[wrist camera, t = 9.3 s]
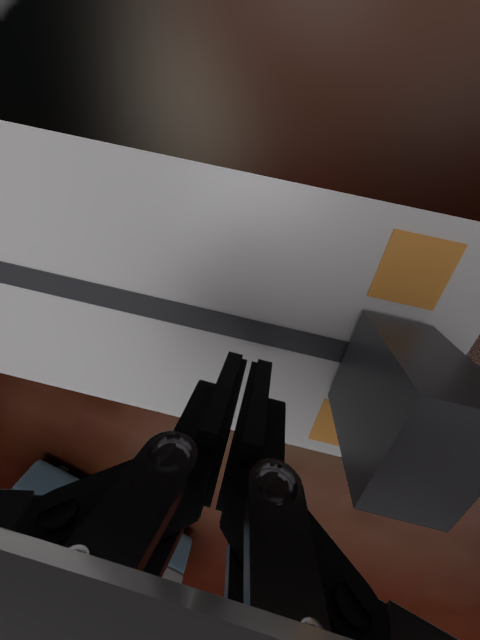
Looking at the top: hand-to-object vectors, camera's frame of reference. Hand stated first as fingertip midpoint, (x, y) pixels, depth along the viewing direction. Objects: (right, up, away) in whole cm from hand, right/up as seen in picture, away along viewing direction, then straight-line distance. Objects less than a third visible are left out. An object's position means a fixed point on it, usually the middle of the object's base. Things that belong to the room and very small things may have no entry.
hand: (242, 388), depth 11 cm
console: (-3, +4, +7) cm, 8 cm away
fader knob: (+7, 0, +3) cm, 7 cm away
